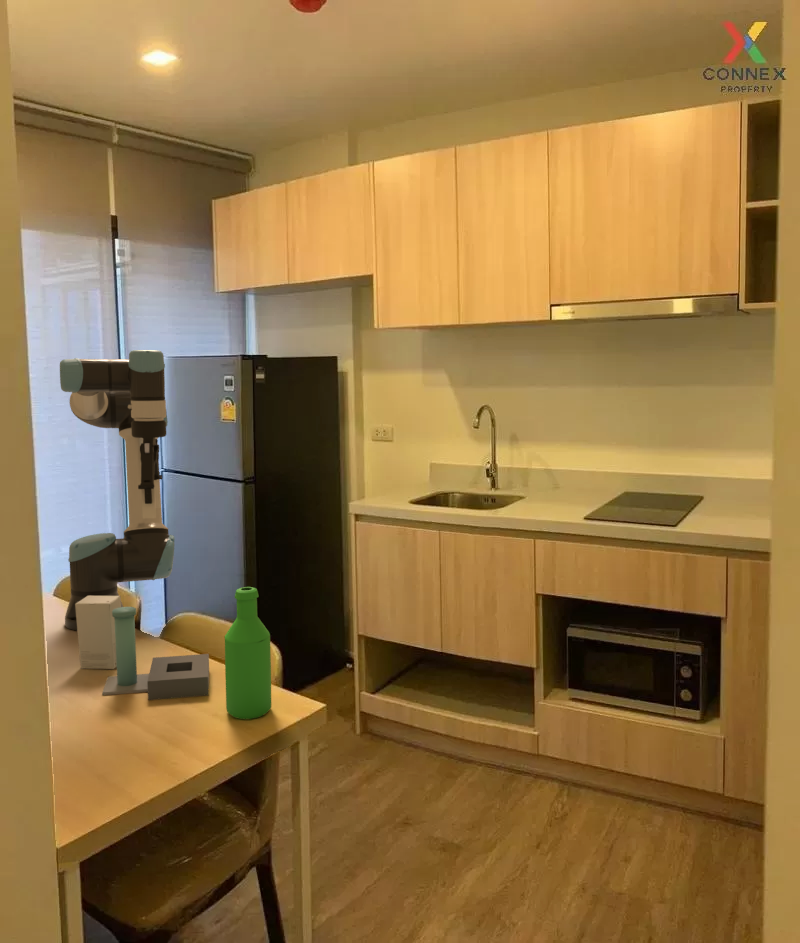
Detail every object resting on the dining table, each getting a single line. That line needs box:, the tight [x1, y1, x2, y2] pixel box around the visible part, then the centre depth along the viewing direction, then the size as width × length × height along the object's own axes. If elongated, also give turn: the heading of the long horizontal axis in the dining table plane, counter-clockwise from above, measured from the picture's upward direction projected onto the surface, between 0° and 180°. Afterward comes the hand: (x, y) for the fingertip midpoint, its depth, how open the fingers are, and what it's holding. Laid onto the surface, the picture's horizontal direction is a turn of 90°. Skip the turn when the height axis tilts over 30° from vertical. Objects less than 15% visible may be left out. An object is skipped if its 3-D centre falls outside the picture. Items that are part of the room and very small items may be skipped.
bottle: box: [224, 586, 272, 720], centre depth 160 cm, size 9×9×25 cm
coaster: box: [101, 673, 149, 696], centre depth 175 cm, size 9×9×1 cm
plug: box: [112, 606, 138, 686], centre depth 174 cm, size 5×5×16 cm
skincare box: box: [75, 595, 122, 670], centre depth 186 cm, size 8×7×16 cm
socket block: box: [147, 653, 210, 701], centre depth 175 cm, size 14×12×4 cm
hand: (151, 512), depth 186 cm, fingers open, 13 cm apart
